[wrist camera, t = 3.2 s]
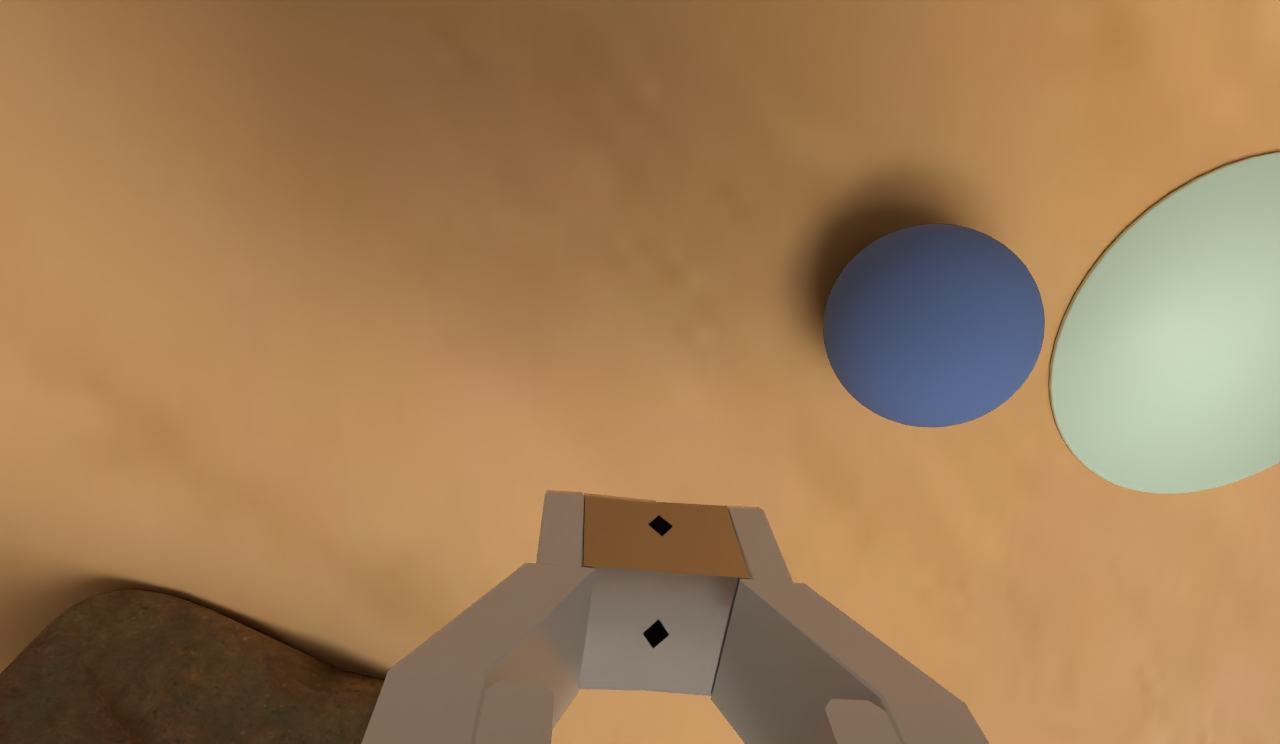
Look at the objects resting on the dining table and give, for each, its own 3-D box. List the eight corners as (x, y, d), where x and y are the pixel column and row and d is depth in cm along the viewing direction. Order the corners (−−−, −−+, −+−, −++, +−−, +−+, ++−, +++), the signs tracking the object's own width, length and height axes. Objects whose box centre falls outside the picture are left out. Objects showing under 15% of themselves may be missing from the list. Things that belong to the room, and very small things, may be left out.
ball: (824, 194, 21) (904, 236, 16) (1000, 219, 22) (1135, 268, 17) (782, 367, 24) (839, 456, 18) (941, 385, 24) (1043, 475, 19)
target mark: (1144, 122, 21) (1148, 122, 21) (1495, 180, 22) (1502, 181, 22) (997, 475, 26) (1000, 478, 26) (1291, 503, 28) (1296, 506, 27)
